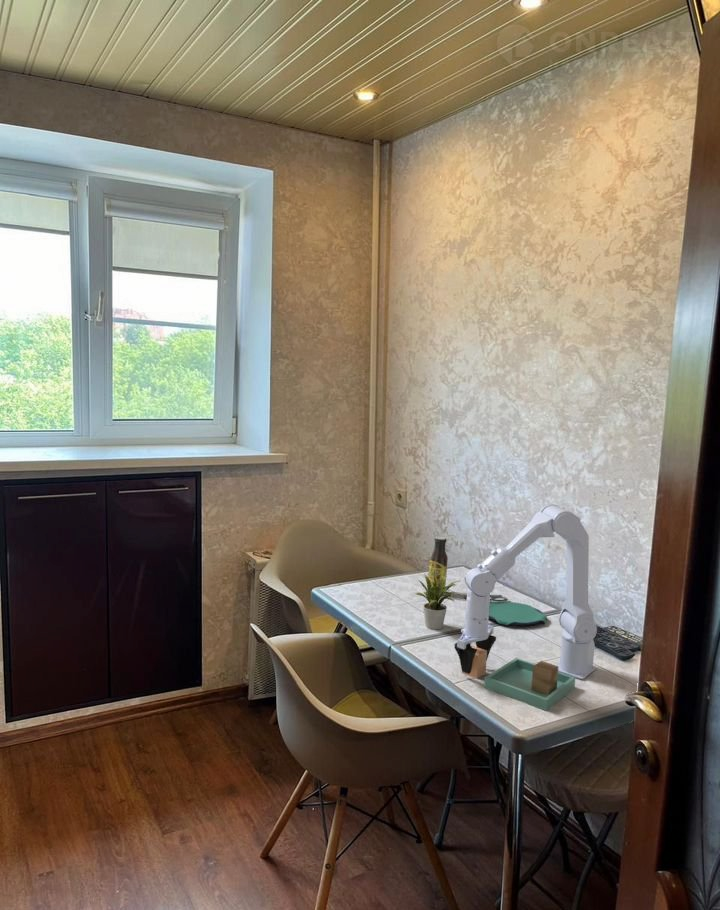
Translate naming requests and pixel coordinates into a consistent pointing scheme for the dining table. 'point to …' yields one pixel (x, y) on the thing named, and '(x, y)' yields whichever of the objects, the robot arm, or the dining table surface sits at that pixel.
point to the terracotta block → (478, 663)
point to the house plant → (435, 602)
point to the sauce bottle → (438, 561)
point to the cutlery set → (513, 612)
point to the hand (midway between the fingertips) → (474, 667)
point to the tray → (526, 684)
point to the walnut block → (544, 678)
